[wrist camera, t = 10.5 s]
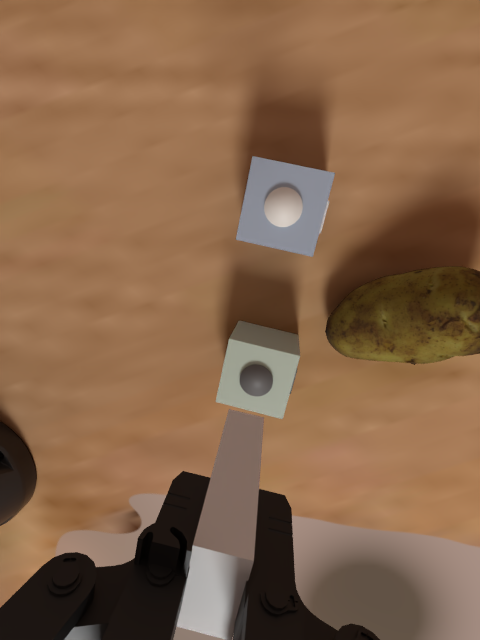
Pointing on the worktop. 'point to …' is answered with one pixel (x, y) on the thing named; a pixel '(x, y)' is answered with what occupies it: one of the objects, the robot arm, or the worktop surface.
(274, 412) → the sage block
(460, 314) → the potato
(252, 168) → the slate blue block
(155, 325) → the worktop surface
